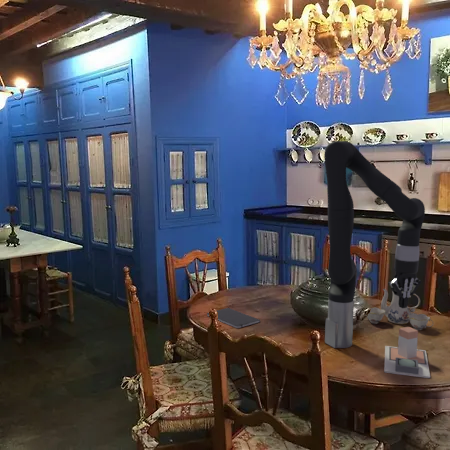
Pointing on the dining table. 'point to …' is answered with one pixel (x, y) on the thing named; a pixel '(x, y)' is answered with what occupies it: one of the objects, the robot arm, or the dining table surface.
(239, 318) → the notebook
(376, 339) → the dining table surface
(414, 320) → the chinaware
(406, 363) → the button
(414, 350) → the white and pink block
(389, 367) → the picture board
